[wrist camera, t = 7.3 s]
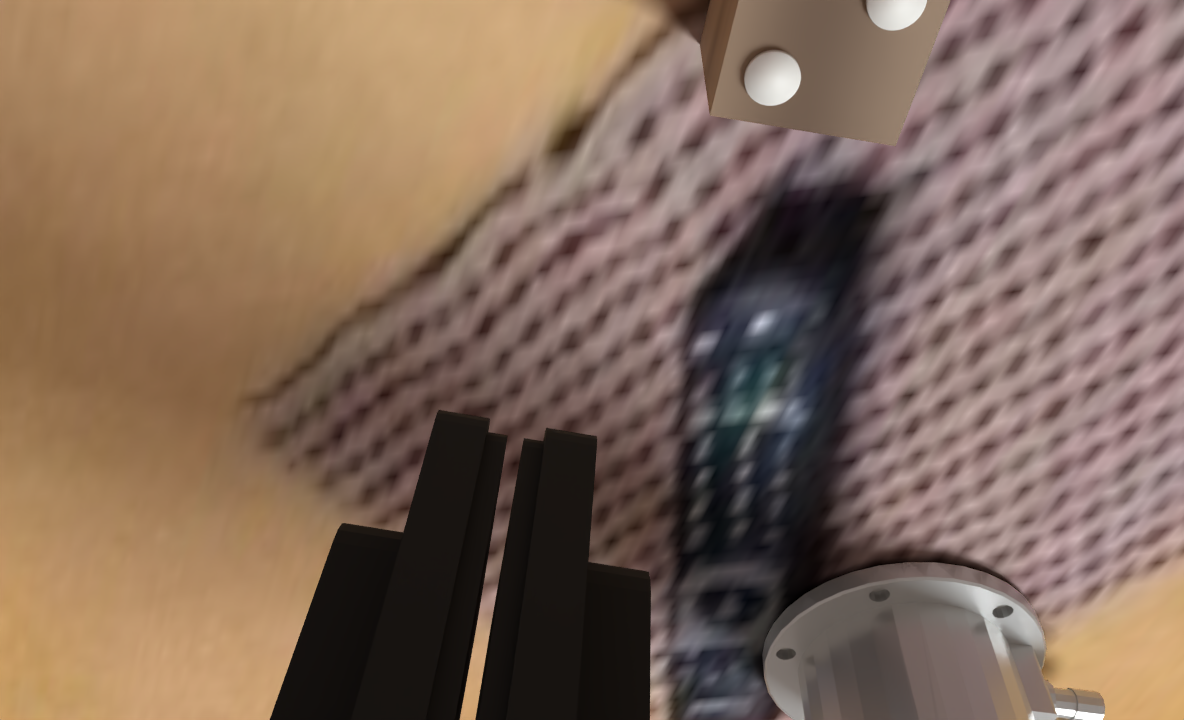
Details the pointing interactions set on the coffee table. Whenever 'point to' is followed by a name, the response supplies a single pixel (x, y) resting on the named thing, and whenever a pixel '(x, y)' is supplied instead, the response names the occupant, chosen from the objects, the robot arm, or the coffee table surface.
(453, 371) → the coffee table surface
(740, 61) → the walnut dotted block
